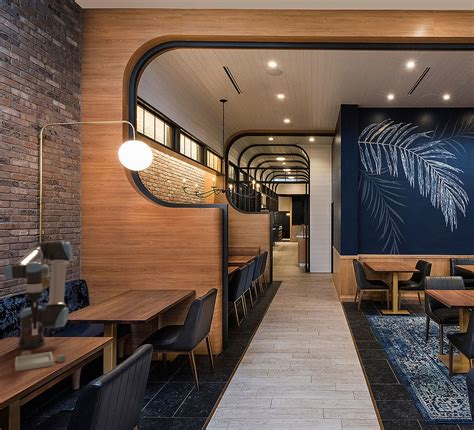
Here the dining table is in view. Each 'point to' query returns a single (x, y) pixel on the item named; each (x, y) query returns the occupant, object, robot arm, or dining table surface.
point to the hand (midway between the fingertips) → (34, 332)
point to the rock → (28, 331)
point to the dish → (33, 361)
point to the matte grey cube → (25, 353)
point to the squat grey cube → (61, 358)
